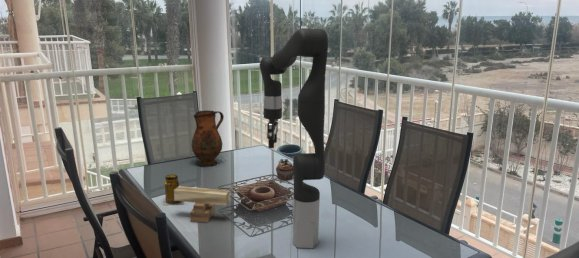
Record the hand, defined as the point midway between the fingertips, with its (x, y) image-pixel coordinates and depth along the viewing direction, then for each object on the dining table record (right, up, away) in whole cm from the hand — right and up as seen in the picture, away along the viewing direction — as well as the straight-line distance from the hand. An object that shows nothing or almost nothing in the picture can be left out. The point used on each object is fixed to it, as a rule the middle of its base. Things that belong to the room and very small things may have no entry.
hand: (272, 145), depth 177 cm
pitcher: (-38, -13, +67) cm, 78 cm away
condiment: (-44, -26, +13) cm, 52 cm away
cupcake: (+5, -19, +44) cm, 48 cm away
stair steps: (-28, -29, -3) cm, 41 cm away
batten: (-28, -22, -4) cm, 36 cm away
